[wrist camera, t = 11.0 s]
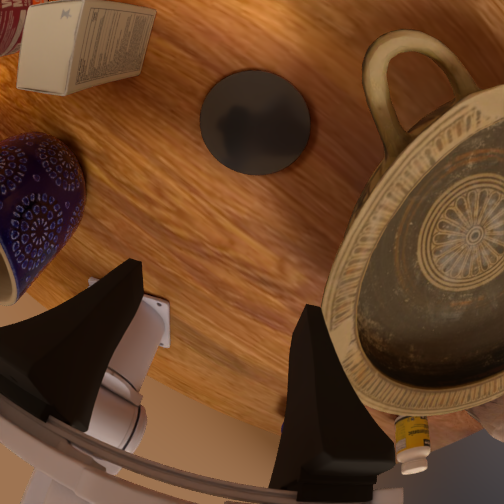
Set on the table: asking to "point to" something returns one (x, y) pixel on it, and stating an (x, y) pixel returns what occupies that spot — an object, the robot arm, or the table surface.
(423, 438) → the supplement bottle
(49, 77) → the small box
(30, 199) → the planter
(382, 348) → the ceramic bowl
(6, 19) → the pill bottle
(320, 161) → the table surface
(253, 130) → the slate coaster
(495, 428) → the bird
